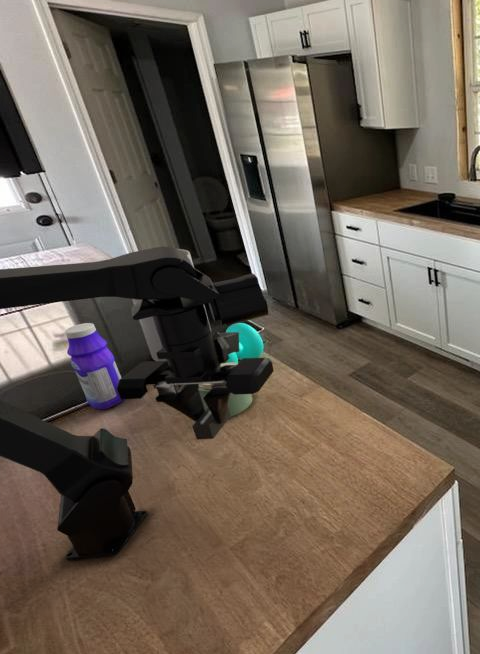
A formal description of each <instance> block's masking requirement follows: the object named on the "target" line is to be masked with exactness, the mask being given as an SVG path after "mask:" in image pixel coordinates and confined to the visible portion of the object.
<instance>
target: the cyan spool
mask: <svg viewBox="0 0 480 654" xmlns="http://www.w3.org/2000/svg"><path fill="white" fill-rule="evenodd" d="M225 332H239V352H233V353H231V354H228V355H229V360H228V361H227V362H226V363H239V360H240V361H241V360H242V359H243V358H261V356H262V354H263V352H264V342H263V339H262V337H261V335H260V333H259V332H258V330H256V329H255V328H254V327H252V325H249V324H247V323H244V322H240V323H236V324H233V325H229V326H227V329H226V330H225ZM222 364H223V363H222Z"/></svg>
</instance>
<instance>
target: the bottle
mask: <svg viewBox="0 0 480 654" xmlns="http://www.w3.org/2000/svg"><path fill="white" fill-rule="evenodd" d="M64 333H65V336H66V339H67V342H68V348H67V351H66V354H67V355H68V356H70V364H71V367H72V369H73V370H74V372H75V374H76V377H77V379H78V382H79V384H80V386H81V389H82V391H83V394H84V396H85V399H86V402H87V403H88V404H89V405H90V406H91V407H92V408H94V409H97V410H106V409H109V408H111V407H113V406H117V405H118V404H120V403H123V402H124V401H125V400H126V399H121V398H120V396H119V394H118V391H117V389H116V387H117V384H118V381H119V380H120V379H121V378H122V375H121V374H120V371H119V369H118V365H117V363H116V360H115V356H114V355H113V353H112V352H111V350H110V349H109V348H108V346H107V345H108V341H107V339H104V338H103V337H102V336H100V334H99V332H98V331H97V328H96V326H95V324H94V323H93V322H86V323H84V322H83V323H80V324H75V325H72V326H70V327H68V328H66V329H65V330H64Z"/></svg>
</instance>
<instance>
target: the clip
mask: <svg viewBox="0 0 480 654" xmlns="http://www.w3.org/2000/svg"><path fill="white" fill-rule="evenodd" d="M230 418H231V417H230V412H229V409H228V405H227V410H226V415H225V419H224V421H223V422H222V423H221V424H218V422H217V421H216V420H215V419H214V417H213V415H212V413H211V412H210V410H209V408H208V409H207V410H206V411H205V412H204V413H203V414H202V416H201V417H200V418H199V419H198V420H197V421H196V422H195V421H194V423H193V425H192V426H191V427H192V430H193V433H194V436H195V439H196V440H197V441H198V440H199V441H200V440H214V439H215V438H216V436H217V434H218V433H219V432H220V431H221V430H222V428H223V427H224V425H225V424H226V423H227V421H228V420H229V419H230Z"/></svg>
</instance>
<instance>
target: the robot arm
mask: <svg viewBox="0 0 480 654" xmlns="http://www.w3.org/2000/svg"><path fill="white" fill-rule="evenodd" d="M178 249H179V248H176V247H172V246H156V247H152V248H151V247H150V248H146V249H142V250H137V251H132V252H128V253H125V254H121V255H118V256H115V257H112V258H108V259H104V260H98V261H90V262H76V263H64V264H53V265H39V266H25V267H13V268H2V269H0V310H4V309H13V308H22V307H30V306H39V305H47V304H54V303H63V302H71V301H79V300H87V299H95V298H121V299H122V298H123V299H130V300H132V299H136V300H139V301H138V302H137V303H136V304H135V305H134V304H133V305H132V307H131V317H132V319H133V320H135V321H139V319H144V318H148V317H153V320H154V323H155V326H156V329H157V332H158V335H159V338H160V341H161V344H162V347H163V348H162V349H161V350H159V351H158V352H157V353H156V354H157V357H158V359H167V361H155V360H153V361H142V362H140V363H139V364H138V365H136V366H135V367H134V368H133V369H131V370H130V371H129V372H127V373H126V374H125V375H123V376H121V379H120V380H119V381H118V384H117V387H116V389H117V391H118V394H119V396H120V398H121V399H125V400H140V399H142V398H143V397H144V396H145V395H146V394H147V393H148V392H149V390H148V387H147V386H148V385H152V386H153V389H156V391H157V393H158V395H157V396H156V397H155V398H154V399H155V401H156V402H158V403H163V404H165V405H166V406H168V407H170V408H172V409H174V410H176V411H178V412H180V413H181V414H183V415H184V416H186V417H188V418H189V419H191V420H192V421H194V423H195V422H196V421H197V420H198V419H199V418H200V417H201V416H202V414H203V413H204V412H205V409H204V406H203V402H202V399H201V396H200V393H199V389H198V387H199V384H211V388H212V389H211V390H210V391H209V392H208V393H207V394H206V395H205V396H204V397H203V399H204V401H205V403H206V404H207V406H208V408H209V410H210V412H211V413H212V415H213V417H214V419H215V420H216V421H217V422H218V424H221V423H222V422H223V421H224V419H225V415H226V410H227V405H228V400H229V396H230V393H232V394H234V395H239V394H252V395H254V394H256V393H259V392H260V391H261V389H262V387H264V385H265V384H266V382H267V381H268V380H269V378H270V377H271V376H272V374H273V373H274V365H273V362H272V361H271V359H270V358H267V357H259V358H243V359H242V360H240V361H238V364H237V365H225V366H222V367H221V364H222V363H226V362H227V361H228V360H229V355H228V354H231V353H233V352H239V332H226V331H225V332H218V331H217V330H212V328H211V325H210V326H209V324H210V321H209V317H208V314H207V315H206V313H207V310H206V307H205V308H204V306H205V305H207V304H208V306H209V310H210V313H211V316H212V319H213V321H214V323H217V322H220V324H221V326H225V327H230V326H231V325H233V324H236V323H244V322H247V321H251V320H255V319H259V318H262V317H266V316H267V317H268V315H269V306H268V301H267V299H266V298H265V296H264V293H263V290H262V287H261V285H260V283H259V278H258V277H257V275H256V274H255V273H248V274H244V275H242V276H239V277H236V278H230V279H226V280H220V281H216V282H213V281H212V279H211V277H209V276H208V274H204V273H203V272H201V271H200V270H198V269H197V268H195V266H194V264H193V265H192V263H191V261H190V259H189V258H188V257H187V256H186V254H184V253H183V252H181V251H180V250H178ZM193 266H194V267H193ZM205 310H206V311H205ZM207 317H208V318H207ZM208 321H209V322H208ZM210 328H211V329H210ZM0 457H1V458H4V459H6V460H8V461H11V462H14V463H16V464H18V465H21V466H24V467H26V468H29V469H30V470H33V471H35V472H38V473H40V474H42V475H43V476H44V477H45V478H46V479H47V481H48V482H49V483H50V485H52V486H53V488H54V489H55V490H56V491H57V493H58V494H59V495H60V503H59V510H58V519H57V520H58V521H57V527H56V530H57V532H60V533H62V534H64V535H66V536H67V538H68V540H69V541H70V544H71V545H72V547H71V548H70V549H69V550H68V552H67V553H66V554H65V556H64V559H65V560H66V561H71V560H81V559H83V560H84V559H93V558H101V557H110V556H111V557H112V556H116V555H118V554H119V553H120V552H121V551H122V550H123V548H124V547H125V546H126V544H127V543H128V542H129V541H130V539H131V538H132V536H134V533H135V532H136V531H137V530H138V528H140V526H141V524H142V523H143V522H144V520H145V519H147V516H148V515H149V513H148V511H147V510H137V508H136V506H135V503H134V501H133V499H132V496H131V494H130V492H129V490H130V489H131V487H132V485H133V481H134V474H133V459H132V451H131V448H130V446H129V443H128V438H124V437H118V436H116V435H114V434H112V433H111V432H110V431H109V430H108V429H106V428H104V427H100V428H99V429H98V430H97V431H96V432H95V433H94V434H93V435H76V434H74V433H70V432H69V431H66V430H65V429H62V428H61V427H58V426H56V425H54V424H52V423H50V422H48V421H45V420H43V419H42V418H40V417H37V416H36V415H33V414H31V413H29V412H28V411H25V410H23V409H21V408H19V407H17V406H14V404H10V403H9V402H8V401H7V402H6V401H4V400H2V399H0Z"/></svg>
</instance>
